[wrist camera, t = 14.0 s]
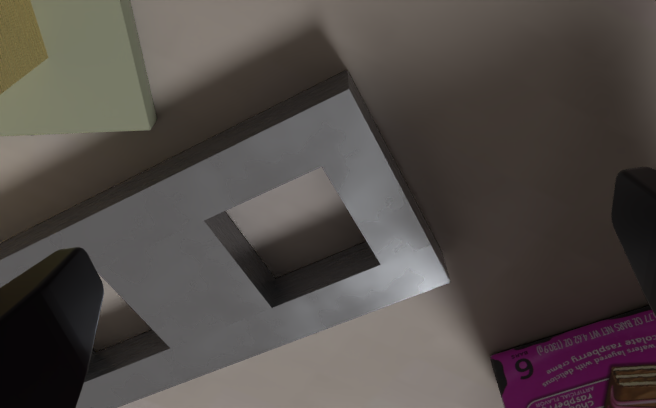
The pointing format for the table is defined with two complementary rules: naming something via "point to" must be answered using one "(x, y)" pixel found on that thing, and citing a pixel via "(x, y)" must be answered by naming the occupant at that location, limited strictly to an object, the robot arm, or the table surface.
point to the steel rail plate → (239, 245)
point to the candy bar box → (584, 366)
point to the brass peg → (18, 42)
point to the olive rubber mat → (82, 73)
